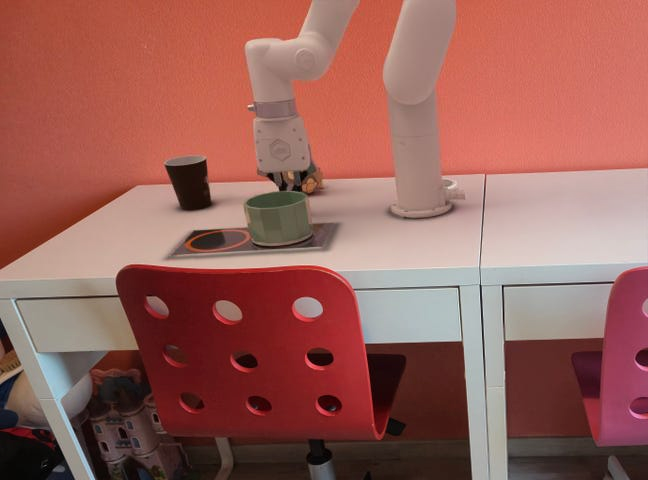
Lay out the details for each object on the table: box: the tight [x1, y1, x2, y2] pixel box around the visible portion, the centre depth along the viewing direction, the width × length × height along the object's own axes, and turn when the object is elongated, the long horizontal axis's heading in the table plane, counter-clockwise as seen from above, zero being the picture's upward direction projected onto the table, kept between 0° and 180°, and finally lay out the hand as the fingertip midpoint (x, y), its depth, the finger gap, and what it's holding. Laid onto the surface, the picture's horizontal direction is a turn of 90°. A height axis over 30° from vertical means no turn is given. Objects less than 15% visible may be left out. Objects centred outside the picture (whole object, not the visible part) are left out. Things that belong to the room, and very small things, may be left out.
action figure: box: [283, 162, 324, 195], centre depth 161 cm, size 10×11×15 cm
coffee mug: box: [163, 155, 212, 211], centre depth 155 cm, size 12×9×10 cm
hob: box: [167, 222, 334, 258], centre depth 134 cm, size 28×14×1 cm, turn 92°
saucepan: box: [242, 184, 314, 246], centre depth 136 cm, size 11×20×7 cm, turn 2°
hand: (293, 203), depth 144 cm, fingers closed on saucepan
